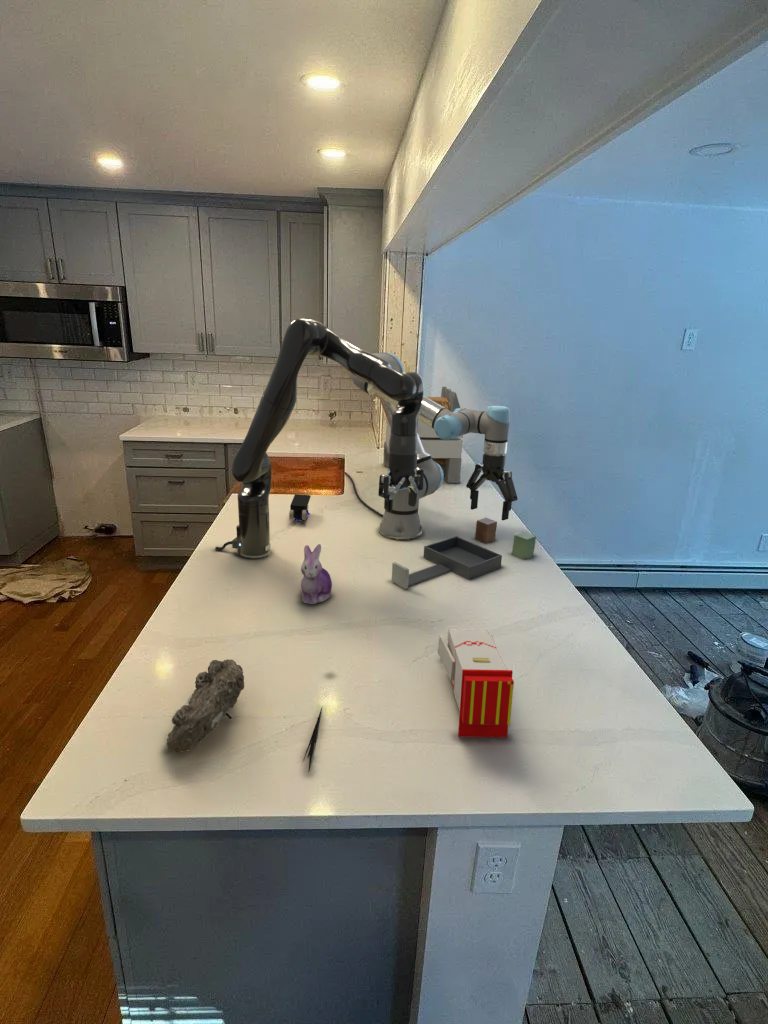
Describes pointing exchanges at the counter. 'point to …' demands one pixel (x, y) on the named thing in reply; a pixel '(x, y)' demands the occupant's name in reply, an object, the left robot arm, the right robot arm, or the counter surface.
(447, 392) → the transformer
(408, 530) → the right robot arm
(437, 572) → the tray
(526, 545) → the sage block
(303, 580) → the figurine
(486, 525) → the walnut block
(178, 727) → the fossil
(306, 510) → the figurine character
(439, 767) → the counter surface
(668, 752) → the counter surface
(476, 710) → the toy
